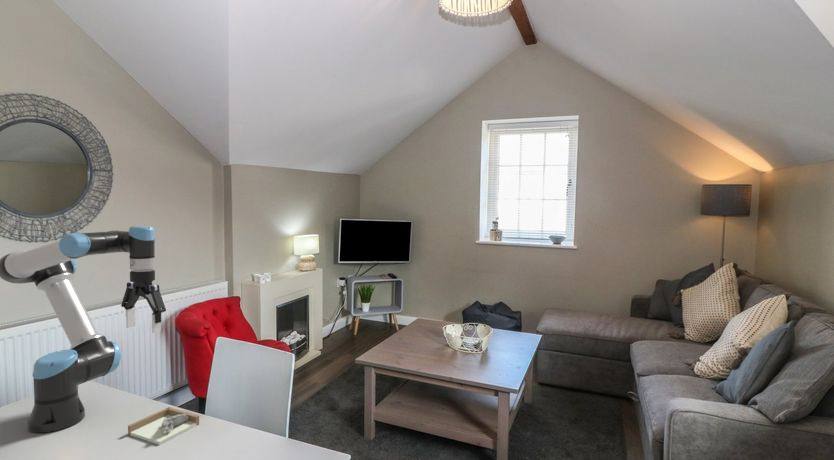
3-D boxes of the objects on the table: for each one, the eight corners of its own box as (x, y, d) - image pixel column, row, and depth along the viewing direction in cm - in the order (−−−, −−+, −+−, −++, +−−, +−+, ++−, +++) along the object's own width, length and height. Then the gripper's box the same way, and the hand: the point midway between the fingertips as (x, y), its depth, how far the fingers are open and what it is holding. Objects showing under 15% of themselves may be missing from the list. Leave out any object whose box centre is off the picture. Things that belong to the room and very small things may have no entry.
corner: (128, 434, 144) (127, 425, 144) (169, 415, 158) (168, 407, 157) (159, 445, 138) (159, 435, 138) (199, 424, 151) (199, 415, 151)
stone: (147, 433, 142) (147, 421, 142) (175, 417, 154) (175, 406, 154) (164, 436, 140) (164, 423, 140) (191, 419, 152) (191, 408, 152)
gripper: (108, 268, 155) (110, 327, 156) (156, 274, 145) (157, 336, 146) (130, 266, 162) (131, 322, 163) (176, 271, 152) (177, 331, 153)
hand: (143, 329), depth 155 cm, fingers open, 13 cm apart
